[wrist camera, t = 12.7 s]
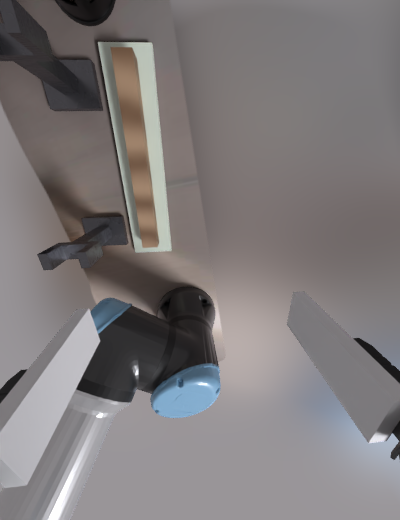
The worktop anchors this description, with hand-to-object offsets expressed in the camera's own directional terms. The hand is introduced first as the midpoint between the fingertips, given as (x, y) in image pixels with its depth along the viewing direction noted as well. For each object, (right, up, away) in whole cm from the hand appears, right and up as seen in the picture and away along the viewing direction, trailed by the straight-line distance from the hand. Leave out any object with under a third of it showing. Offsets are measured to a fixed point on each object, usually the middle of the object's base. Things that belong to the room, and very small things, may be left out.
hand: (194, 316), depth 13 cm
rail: (-11, +21, +23) cm, 33 cm away
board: (-11, +22, +24) cm, 34 cm away
